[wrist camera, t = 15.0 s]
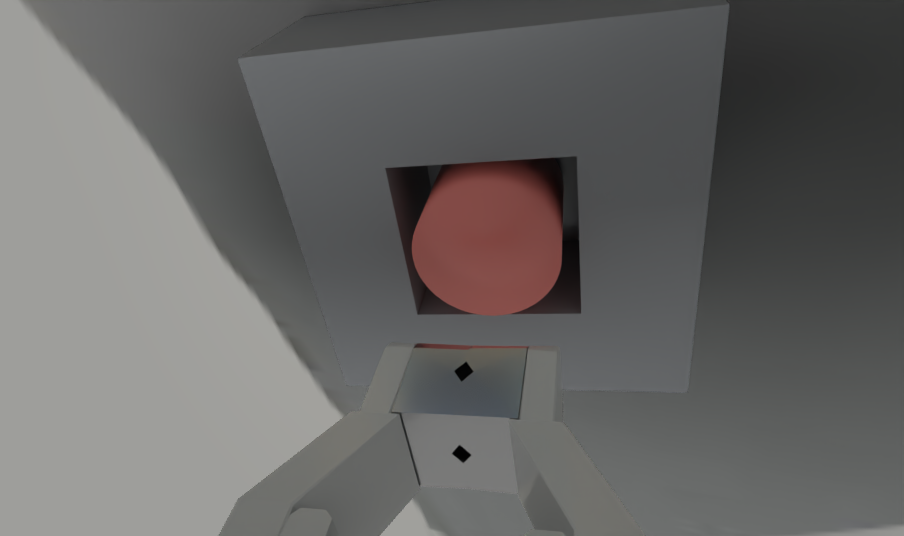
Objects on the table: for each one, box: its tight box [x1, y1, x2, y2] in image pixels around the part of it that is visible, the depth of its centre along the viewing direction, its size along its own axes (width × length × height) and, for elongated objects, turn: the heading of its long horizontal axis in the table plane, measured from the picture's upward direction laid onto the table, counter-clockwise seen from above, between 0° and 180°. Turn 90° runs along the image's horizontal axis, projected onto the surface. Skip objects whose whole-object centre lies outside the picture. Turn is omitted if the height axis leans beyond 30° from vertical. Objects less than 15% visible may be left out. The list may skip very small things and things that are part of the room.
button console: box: [237, 0, 730, 393], centre depth 16 cm, size 10×10×4 cm
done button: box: [412, 158, 564, 316], centre depth 16 cm, size 4×4×4 cm
